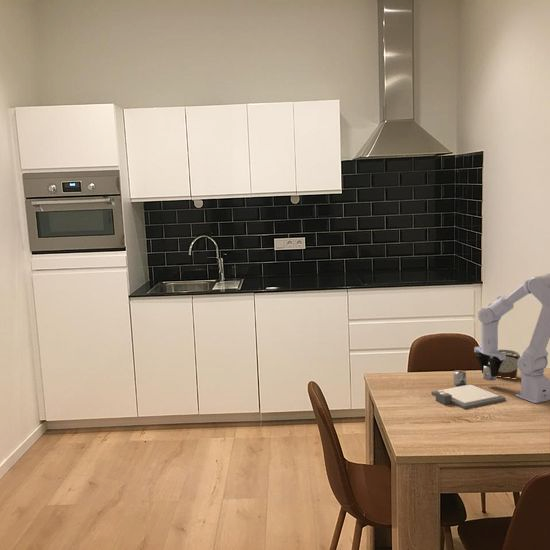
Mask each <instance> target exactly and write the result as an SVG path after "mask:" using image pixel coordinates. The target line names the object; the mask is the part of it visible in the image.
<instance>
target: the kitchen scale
mask: <svg viewBox="0 0 550 550" xmlns="http://www.w3.org/2000/svg"><path fill="white" fill-rule="evenodd" d="M431 395H433V396H435V402H437V403H440V404H442V405H444V406H446V405H450V404H453V405H455V406H457V407H459V408H461V409H463V410H466V409H471V408H475V407H481V406H486V405H490V404H495V402H496V403H500V402H505V401H507V399H506V397H505V396H502V395H500V394H498V393H495V392H493V391H491V390H490V391H489V390H487V389H485V388H482V387H479V386H478V385H475V384H472V383H470V384H466V385H463V386H453V387H449V388H443V389H438V390H432V391H431Z"/></svg>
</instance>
